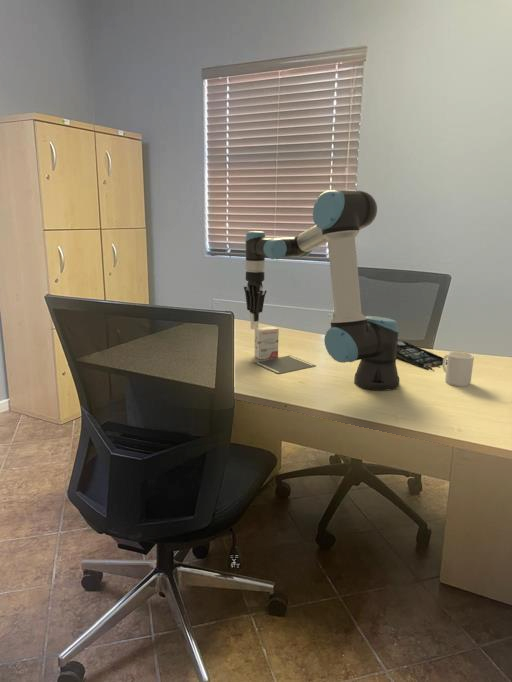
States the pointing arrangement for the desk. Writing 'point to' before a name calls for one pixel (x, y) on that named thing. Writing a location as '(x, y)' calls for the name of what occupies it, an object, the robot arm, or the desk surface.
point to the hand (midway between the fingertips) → (254, 328)
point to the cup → (458, 368)
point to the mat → (284, 364)
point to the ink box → (266, 342)
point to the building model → (417, 355)
